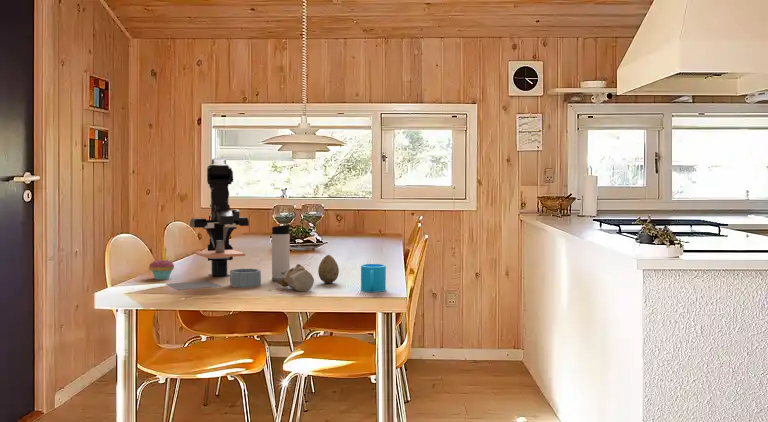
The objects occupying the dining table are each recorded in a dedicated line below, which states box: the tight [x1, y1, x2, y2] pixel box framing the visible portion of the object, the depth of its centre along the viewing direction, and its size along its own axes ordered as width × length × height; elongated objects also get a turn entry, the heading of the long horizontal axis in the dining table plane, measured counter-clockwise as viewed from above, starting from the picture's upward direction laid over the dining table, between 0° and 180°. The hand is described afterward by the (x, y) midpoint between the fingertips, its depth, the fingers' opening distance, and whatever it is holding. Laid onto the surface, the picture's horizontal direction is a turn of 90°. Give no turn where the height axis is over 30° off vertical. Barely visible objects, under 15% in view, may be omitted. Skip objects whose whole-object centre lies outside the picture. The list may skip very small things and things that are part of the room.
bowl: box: [229, 268, 262, 289], centre depth 240 cm, size 10×10×5 cm
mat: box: [165, 279, 222, 291], centre depth 239 cm, size 15×15×1 cm
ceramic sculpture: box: [276, 263, 315, 293], centre depth 235 cm, size 11×9×15 cm
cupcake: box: [148, 247, 175, 280], centre depth 253 cm, size 9×8×12 cm
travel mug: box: [271, 224, 291, 282], centre depth 253 cm, size 6×7×20 cm
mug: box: [360, 263, 387, 293], centre depth 232 cm, size 12×8×8 cm
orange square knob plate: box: [194, 240, 246, 259], centre depth 239 cm, size 13×13×5 cm
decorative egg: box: [317, 254, 340, 284], centre depth 247 cm, size 7×7×10 cm
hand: (220, 247), depth 239 cm, fingers closed on orange square knob plate, 3 cm apart
